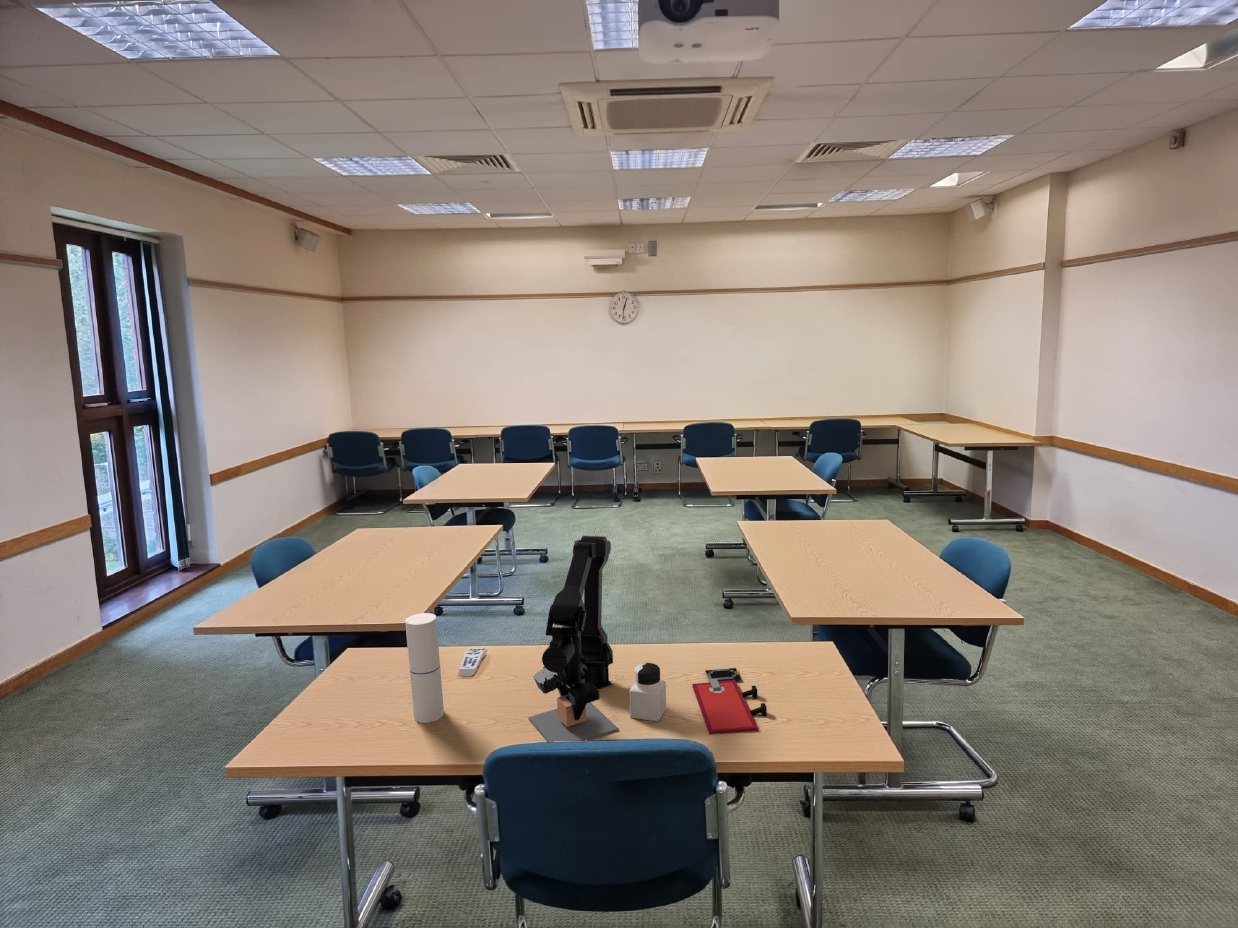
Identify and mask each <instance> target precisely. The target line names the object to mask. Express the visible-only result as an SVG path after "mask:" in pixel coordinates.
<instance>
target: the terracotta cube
mask: <svg viewBox="0 0 1238 928" xmlns="http://www.w3.org/2000/svg"><path fill="white" fill-rule="evenodd" d="M565 696H569V694H568V695H565ZM565 696H561V697H560V696H558V697H557V698H556V702H557V706H556V707H557V708H556V709H558V718H559V719H560V720H561V721H562V722H563V723H564V724H565V725H566V727H568V726H572V725H575V724H578V723H581V722H584V721H586V706H585V708H584V710H583V713H582V715H581V717H580V719H579V720H575V719H574V715H573V710H572V705H571V702H569V701H568V700H567V699H566V698H565Z"/></svg>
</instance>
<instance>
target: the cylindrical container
mask: <svg viewBox="0 0 1238 928" xmlns="http://www.w3.org/2000/svg"><path fill="white" fill-rule="evenodd" d="M437 623H438V622H437V615H436V614H434V613H430V612H423V613H422V612H421V613H416V614H415V613H414V614H412V615H410V616H408V617H407V618H405V622H404V624H405V631H406V632H405V633H406V634H405V635H406V644H407V655H408V664H409V665H408V667H409V676H410V677H409V678H410V679H409V680H410V688H411V689H410V691H411V701H412V711H413V719H414V721H415V722H417V723H420V724H429V723H433V722H436V721H439V720H440V719H441V718H442V717H443V716H444V715H445V709H444V707H445V706H444V695H443V685H442V683H443V682H442V673H441V671H442V670H441V660H440V659H441V658H440V647H439V637H438V634H439V633H438V624H437Z"/></svg>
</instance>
